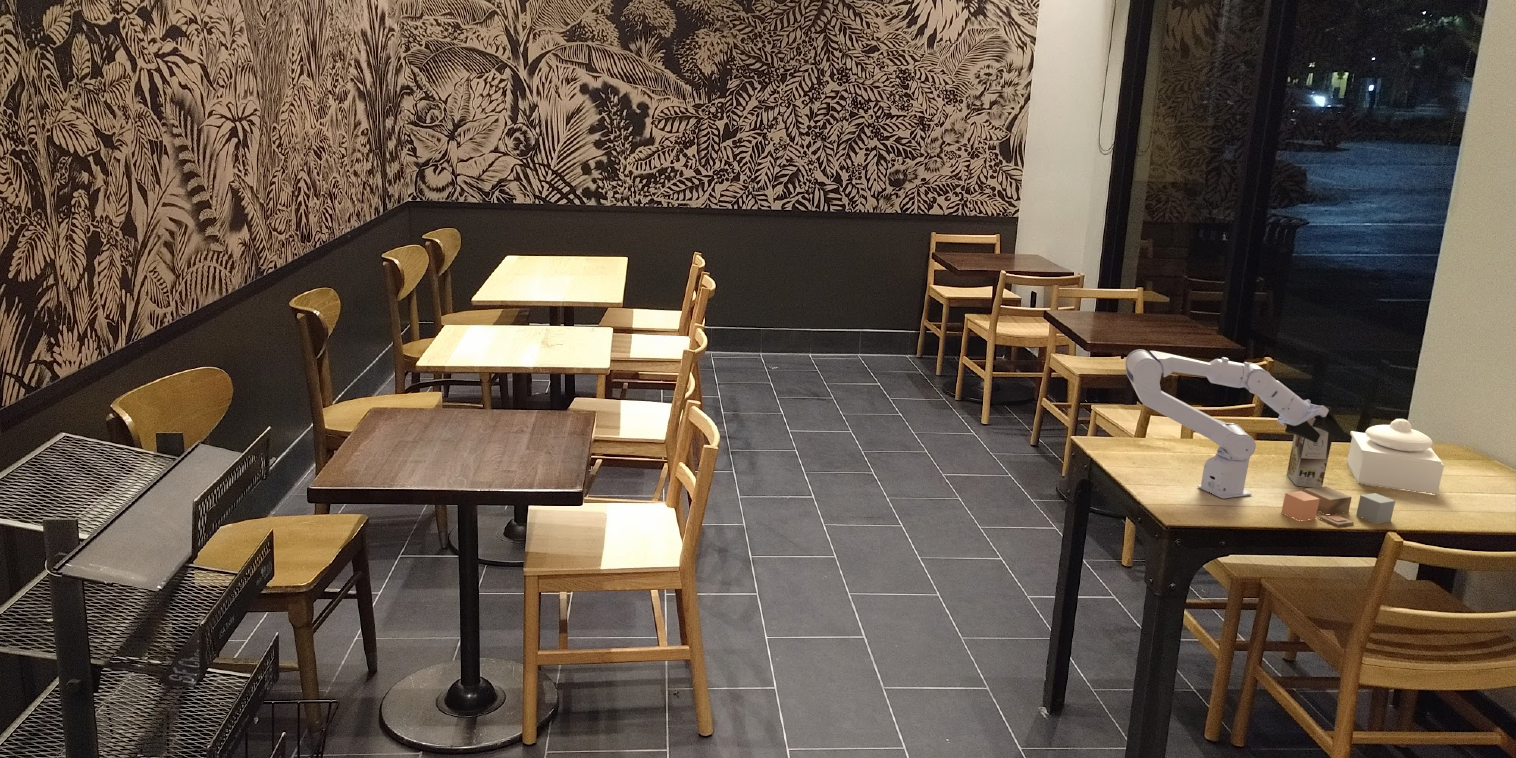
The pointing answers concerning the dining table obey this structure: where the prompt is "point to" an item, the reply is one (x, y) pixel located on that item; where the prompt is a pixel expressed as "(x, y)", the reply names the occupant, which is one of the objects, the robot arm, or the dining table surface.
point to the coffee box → (1309, 459)
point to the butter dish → (1395, 458)
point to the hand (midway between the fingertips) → (1329, 436)
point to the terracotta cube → (1300, 505)
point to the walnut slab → (1330, 500)
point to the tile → (1336, 520)
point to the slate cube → (1375, 508)
